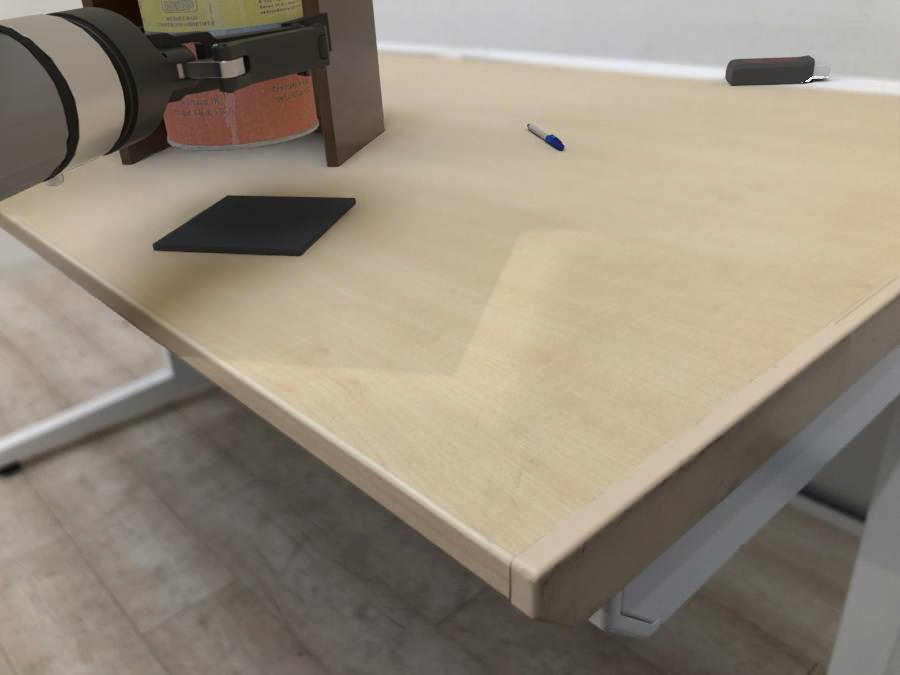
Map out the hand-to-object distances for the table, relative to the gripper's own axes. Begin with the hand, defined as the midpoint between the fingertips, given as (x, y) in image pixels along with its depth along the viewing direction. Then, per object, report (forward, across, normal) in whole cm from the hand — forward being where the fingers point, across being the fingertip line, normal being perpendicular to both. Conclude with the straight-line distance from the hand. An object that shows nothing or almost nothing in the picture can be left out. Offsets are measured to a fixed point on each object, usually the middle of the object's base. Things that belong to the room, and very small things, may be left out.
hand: (253, 34), depth 61 cm
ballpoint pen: (+24, +19, -14) cm, 34 cm away
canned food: (-4, 0, -7) cm, 8 cm away
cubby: (+20, -12, -14) cm, 27 cm away
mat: (-4, 0, -14) cm, 15 cm away
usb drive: (+55, +45, -14) cm, 72 cm away
